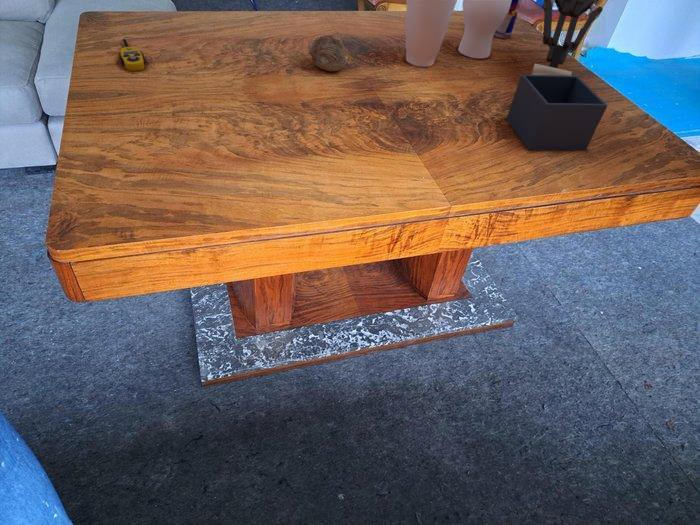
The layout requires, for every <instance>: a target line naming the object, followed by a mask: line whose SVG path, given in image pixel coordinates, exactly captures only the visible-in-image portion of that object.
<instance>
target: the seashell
mask: <svg viewBox="0 0 700 525" xmlns="http://www.w3.org/2000/svg"><path fill="white" fill-rule="evenodd" d="M307 50H308V53H309V55H310V56H311V62H312V63H313V64H314V65H315V66H316V67H317V68H318V69H321V70H323V71H328V72H338V71H340V70H342V69H343V68H344V67H345V65H346V63H347V58H346V55H345V52H344V48H343V44H342V43H341V41H339V39H337V38H335V37H333V36H332V35H326V36H325V35H324V36H320V37H318V38H316V39H315V40H314V41H313V42H312V43H311V44H309V45H308V46H307Z"/></svg>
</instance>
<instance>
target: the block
mask: <svg viewBox="0 0 700 525" xmlns="http://www.w3.org/2000/svg"><path fill="white" fill-rule="evenodd" d="M549 66H550V65H549ZM549 66H548V65H545V64H539V63H534V64H533V68H532V71H531V73H530V75H563V76H573V75H572V74H573V71H570V70H568V69H567V70H566V69H562V68H559V67H558V68H553V67H549Z"/></svg>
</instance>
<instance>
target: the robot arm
mask: <svg viewBox="0 0 700 525" xmlns="http://www.w3.org/2000/svg"><path fill="white" fill-rule="evenodd" d="M595 2H596V0H543V1H542V4H541V6H542V9H543V11H544V16H543V34H542V43H543V45H547V46H548V48H549V49H548V52H547V56H546V59H545V60H546V62H547V63H549V67H553V68H558V69H559V65H560V66H561V65H563V64H564V63H565V62H566V60H567V56H568V54H569V53H568V52H569V51H573V52H574V51H576V50H577V48H578V47H579V46H580V43H581V42H582V41H583V38H584V37H585V35H586V34H587V32H588V30H589V28H590V27H591V25H592V24H593V22H594V21H596V19H598V18H599V17H600V15H601V14H602V13H603V10H604V9H603V7H602V6H599V7H598V6H597V5H596V4H595ZM554 5H556V8H557V11H558V13H559V16H558V20H557V23H556V26H555V29H554V33H553V36H552V24H553V8H554ZM588 10H589V12H588V18H587V20H585V23H584V24H583V26H582V28H581V30H580V31H579V33H578V34H577V36H576V37H575V40H574V41H573V37H574V34H575V30H576V27H577V24H578V22H579V21H578V20H579V18H580V17H581V16H582V15H584V14H585V13H586V12H587V11H588ZM567 17H569V18H570V19H569V25H568V28H567V31H566V34H565V37H564V41H563V44H562V45H560V44H559V41H560V37H561V34H562V32H563V28H564V25H565V22H566V18H567Z"/></svg>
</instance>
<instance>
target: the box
mask: <svg viewBox="0 0 700 525" xmlns="http://www.w3.org/2000/svg"><path fill="white" fill-rule="evenodd" d="M607 108H608V104H607V103H606V102H605V101H604V100H603V99H602V98H601V97H600V96H599V95H598V94H597V93H596V92H595V91H594V90H593V89H592V88H591V87H590V86H588V85H587V83H585V81H584V80H582V78H580V76H578V75H572V76H563V75H531V74H520V77H519V80H518V82H517V86H516V88H515V92H514V95H513V98H512V101H511V104H510V107H509V110H508V112H507V116H506V120H507V122H508V123H509V125H510V126H511V127H512V128H513V130H514V131H515V133H516V134H517V136H518V137H519V139H520V140H521V141H522V143H523V144H524V145H525V148H527V150H528V151H587V149H588V147H589V145H590V143H591V141H592V139H593V137H594V134H596V133H595V132H596V130H597V128H598V127H599V124H600V122H601V120H602V118H603V116H604V114H605V111H606V109H607Z"/></svg>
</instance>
